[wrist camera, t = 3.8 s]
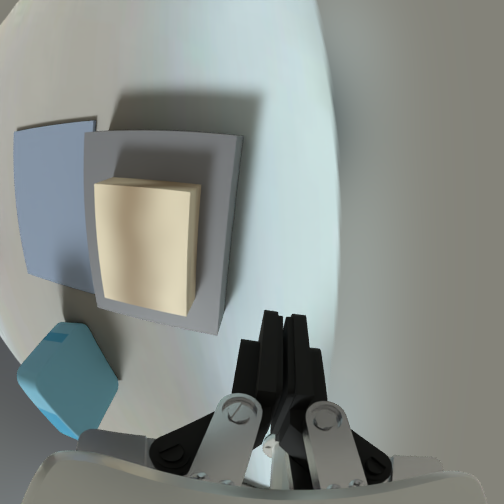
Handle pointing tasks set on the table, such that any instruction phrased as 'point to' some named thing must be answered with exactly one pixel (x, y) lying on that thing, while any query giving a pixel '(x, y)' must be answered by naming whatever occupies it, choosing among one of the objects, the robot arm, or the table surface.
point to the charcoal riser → (174, 170)
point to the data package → (69, 379)
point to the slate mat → (53, 202)
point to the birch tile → (148, 242)
